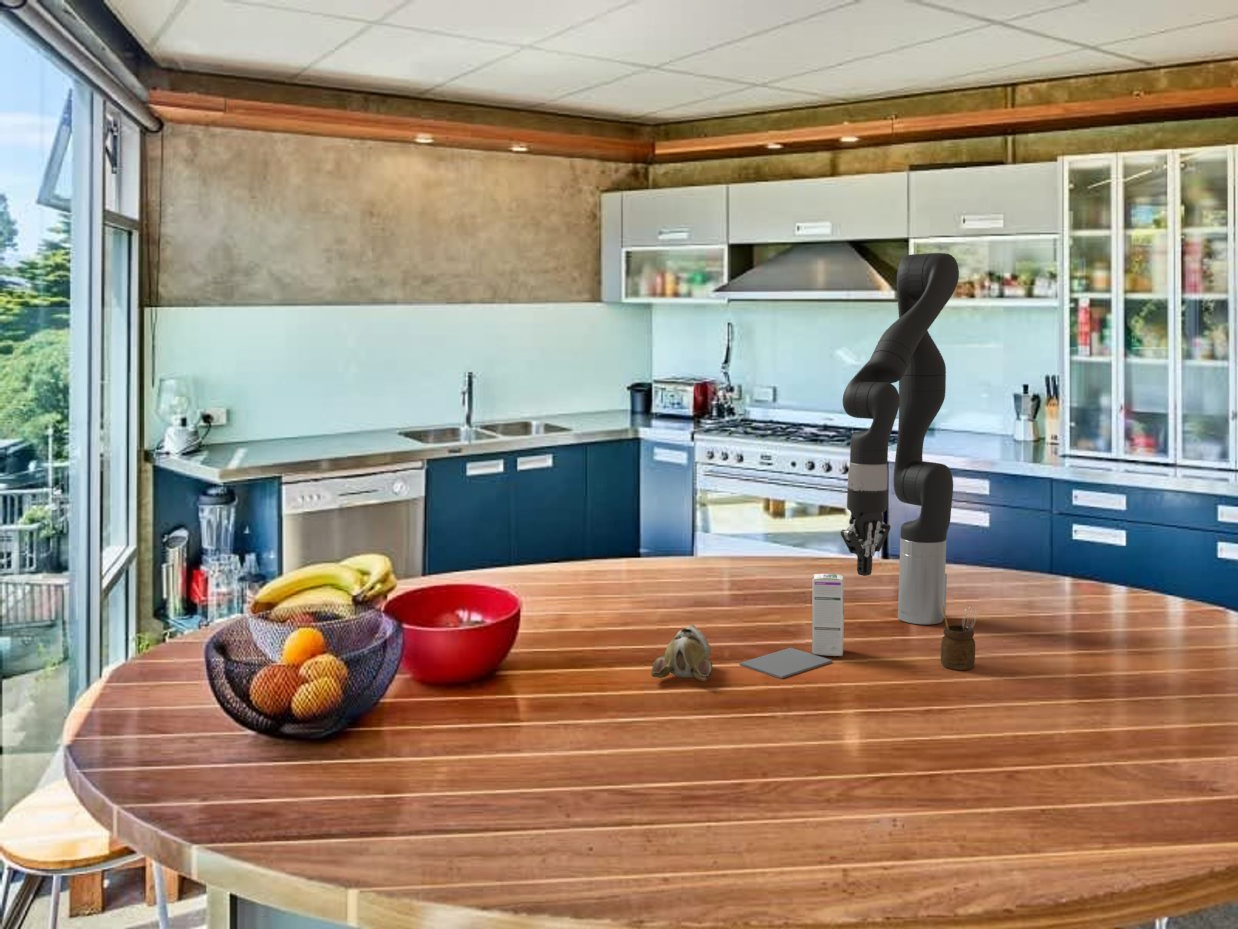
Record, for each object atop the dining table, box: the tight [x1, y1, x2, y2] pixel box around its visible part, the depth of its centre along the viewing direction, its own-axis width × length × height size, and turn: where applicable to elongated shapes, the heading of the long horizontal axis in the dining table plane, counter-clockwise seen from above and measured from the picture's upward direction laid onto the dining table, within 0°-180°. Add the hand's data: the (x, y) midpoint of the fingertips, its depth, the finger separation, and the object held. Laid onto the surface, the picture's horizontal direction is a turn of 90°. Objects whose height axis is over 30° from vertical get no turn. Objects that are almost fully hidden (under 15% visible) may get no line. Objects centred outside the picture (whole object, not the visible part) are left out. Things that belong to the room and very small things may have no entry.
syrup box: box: [811, 573, 845, 657], centre depth 202 cm, size 6×6×14 cm
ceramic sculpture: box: [651, 624, 714, 682], centre depth 190 cm, size 11×9×15 cm
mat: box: [739, 647, 833, 679], centre depth 196 cm, size 14×10×1 cm
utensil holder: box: [940, 600, 978, 671], centre depth 194 cm, size 6×6×12 cm
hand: (864, 574), depth 207 cm, fingers closed
